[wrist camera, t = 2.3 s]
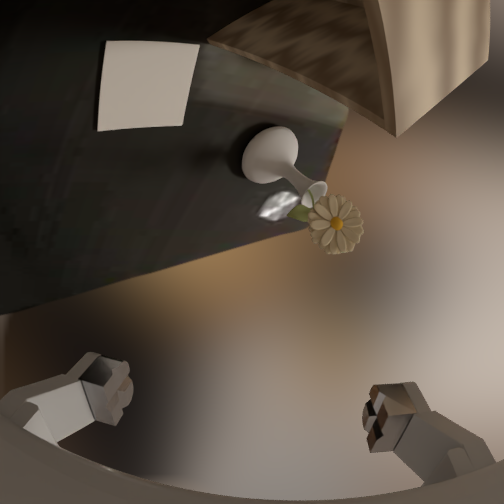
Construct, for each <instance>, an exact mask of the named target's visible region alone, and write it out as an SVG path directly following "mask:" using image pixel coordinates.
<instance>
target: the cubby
mask: <svg viewBox="0 0 504 504" xmlns="http://www.w3.org/2000/svg"><path fill="white" fill-rule="evenodd" d="M489 37H490V0H272V1H270V2H268V3H266V4H264V5H263V6H261V7H259V8H257V9H255V10H253V11H251V12H250V13H248V14H246V15H244V16H242V17H241V18H239V19H237V20H236V21H234V22H232V23H231V24H229V25H227V26H226V27H224V28H222V29H221V30H219V31H218V32H216V33H214V34H213V35H211V36H210V37H208V38H207V41H208V42H209V44H211V45H214V46H217V47H220V48H222V49H225V50H228V51H231V52H233V53H236V54H239V55H241V56H244V57H246V58H249V59H251V60H254V61H256V62H259V63H261V64H263V65H266V66H268V67H270V68H273V69H275V70H277V71H279V72H281V73H284V74H286V75H288V76H290V77H292V78H294V79H296V80H298V81H300V82H302V83H304V84H306V85H308V86H310V87H312V88H314V89H316V90H318V91H320V92H322V93H324V94H326V95H327V96H329V97H331V98H333V99H335V100H337V101H338V102H340V103H342V104H344V105H345V106H347V107H349V108H350V109H352V110H354V111H356V112H357V113H359V114H360V115H362V116H364V117H366V118H367V119H369V120H370V121H372V122H373V123H375V124H376V125H378V126H379V127H381V128H383V129H384V130H386V131H387V132H389V133H390V134H391V135H393V136H395V137H398V136H399V135H401V134H402V133H403V132H404V131H405V130H406V129H408V128H409V127H410V126H411V125H412V124H414V123H415V122H416V121H417V120H418V119H419V118H420V117H422V116H423V115H424V114H425V113H427V112H428V111H429V110H430V109H431V108H432V107H434V106H435V105H436V104H437V103H438V102H440V101H441V100H442V99H443V98H444V97H445V96H446V95H448V94H449V93H450V92H451V91H452V90H454V89H455V88H456V87H457V86H458V85H459V84H461V83H462V82H463V81H464V80H465V79H466V78H468V77H469V76H470V75H471V74H472V73H474V72H475V71H476V70H477V69H478V68H479V67H480V66H482V65H483V64H484V63H485V62H486V61H488V51H489Z"/></svg>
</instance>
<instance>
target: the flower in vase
mask: <svg viewBox="0 0 504 504" xmlns="http://www.w3.org/2000/svg"><path fill="white" fill-rule="evenodd" d="M297 153H298V142H297V139H296V137H295V135H294V133H293V132H292V131H291V130H289V129H288V128H285V127H280V126H279V127H271V128H268V129H265V130H263V131H261V132H260V133H258V134H257V135H256V136H255V137H254V138H253V139H252V140H251V141H250V142H249V143H248V145H247V147H246V149H245V151H244V153H243V157H242V169H243V173H244V175H245V176H246V177H247V178H248V179H249V180H251V181H253V182H256V183H269V182H273V181H276V180H278V179H280V178H282V177H284V178H286V179H287V180H289V181H290V182H291V183H292V184H293V185H294V187H295V188H296V189H297V191H298V192H299V194H300V197H301V204H302V205H297V206H296V207H294V208H293V209H292V210H291V211H290V212H289V213H288V214H287V216H288V217H291V218H294V219H297V220H300V221H304V222H307V221H308V223H309V224H310V227H309V231H310V232H311V237H312V242H313V243H314V244H317V243H319V245H318V246H319V248H320V249H325V252H326V253H327V254H330V253H332V254H340V253H341V252H342V253H347V252H348V251H353V247H355V243H359V242H360V235H362V234H363V232H364V231H363V229H362V226H361V225H362V224H363V219H362V218H360V217H359V216H360V211H359V210H358V209H357V207H356V206H352V202H351V201H346V199H345V197H344V196H341V195H337V196H336V197H335V195H333V194H330V195H329V198H328V197H327V196H325V194H326V191H327V185H326V183H325V182H323V181H313V180H311V179H309V178H307V177H306V176H304V175H303V174H301V173H300V172H299V171H298V170H297V169H296V168H295V167H294V163H295V161H296V158H297ZM311 207H313V209H310V208H311Z"/></svg>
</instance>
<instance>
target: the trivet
mask: <svg viewBox="0 0 504 504" xmlns="http://www.w3.org/2000/svg"><path fill="white" fill-rule="evenodd" d="M199 47H200V45H198V44H188V43H177V42H163V41H134V40H120V41H106V46H105V52H104V59H103V67H102V75H101V84H100V95H99V108H98V125H97V130H98V131H105V130H115V129H126V128H140V127H157V126H182V124H183V118H184V113H185V108H186V103H187V98H188V94H189V89H190V84H191V80H192V76H193V71H194V67H195V63H196V59H197V55H198V51H199Z"/></svg>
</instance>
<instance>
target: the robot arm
mask: <svg viewBox="0 0 504 504" xmlns="http://www.w3.org/2000/svg"><path fill="white" fill-rule="evenodd" d="M129 372H130V369H129V365H128V363H127V362H126V361H123V360H119V359H115V358H112V357H108V356H104V355H100V354H97V353H93V352H88V353H86V354H85V355H84V356H83V357H82V358H81V360H79V362H78V363H77V364H76V365H75V366H74V367H73V368H72V369H71V370H70V371H69V372H68V373H67V374H66V375H63V374H61V375H58V376H55V377H52V378H49V379H46V380H43V381H40V382H36V383H33V384H30V385H27V386H24V387H20V388H17V389H14V390H11V391H10V392H9V393H7V394H6V395H5V396H4V397H3V398H2V399H1V400H0V504H504V460H501V461H499V462H497V463H496V461H495V460H494V458H493V456H492V454H491V452H490V450H489V449H488V447H487V445H486V443H485V442H484V440H483V439H482V438H480V437H478V436H476V435H475V434H473V433H471V432H470V431H468V430H466V429H464V428H463V427H461V426H459V425H458V424H456V423H454V422H452V421H451V420H449V419H448V418H446V417H444V416H443V415H441V414H439V413H438V412H436V411H431V410H430V408H429V406H428V404H427V402H426V401H425V399H424V397H423V395H422V393H421V391H420V390H419V388H418V386H417V384H416V383H415V382H405V383H398V384H381V385H373V386H372V388H371V390H370V393H369V395H370V398H371V399H370V400H369V401H368V402H367V403H366V404H365V407H364V409H363V416H362V421H363V427H364V429H365V430H366V431H367V432H368V433H369V434H368V436H367V442H368V446H369V450H370V453H374V452H386V451H393V452H394V453H395V454H396V455H397V456H398V457H399V458H400V459H401V460H402V461H403V462H404V463H406V465H407V466H408V467H410V468H411V469H412V470H413V471H414V472H415V473H416V474H417V475H418V476H419V477H420V478H421V479H422V480H423V481H424V483H423V485H422V486H421V487H418V488H413V489H409V490H404V491H399V492H393V493H387V494H381V495H375V496H366V497H358V498H347V499H336V500H335V499H334V500H314V501H313V500H311V501H287V500H285V501H283V500H263V499H249V498H239V497H231V496H223V495H216V494H210V493H204V492H198V491H192V490H187V489H183V488H178V487H174V486H169V485H165V484H161V483H157V482H154V481H150V480H146V479H143V478H139V477H136V476H133V475H130V474H126V473H123V472H120V471H117V470H115V469H112V468H109V467H106V466H103V465H101V464H98V463H96V462H93V461H90V460H88V459H86V458H83V457H81V456H78V455H76V454H74V453H71V452H69V451H67V450H65V449H63V448H61V447H59V445H58V444H57V442H58V441H60V440H62V439H63V438H65V437H67V436H69V435H71V434H72V433H74V432H76V431H78V430H80V429H81V428H83V427H85V426H86V425H88V424H90V423H92V422H93V421H94V420H97V421H100V422H104V423H107V424H110V425H114V426H116V424H117V423H118V421H119V419H120V418H121V416H122V415H123V412H122V408H124V407H126V406H128V405H129V403H130V401H131V399H132V395H133V383H132V380H131V379H130V378H129V377H128V373H129Z"/></svg>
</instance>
